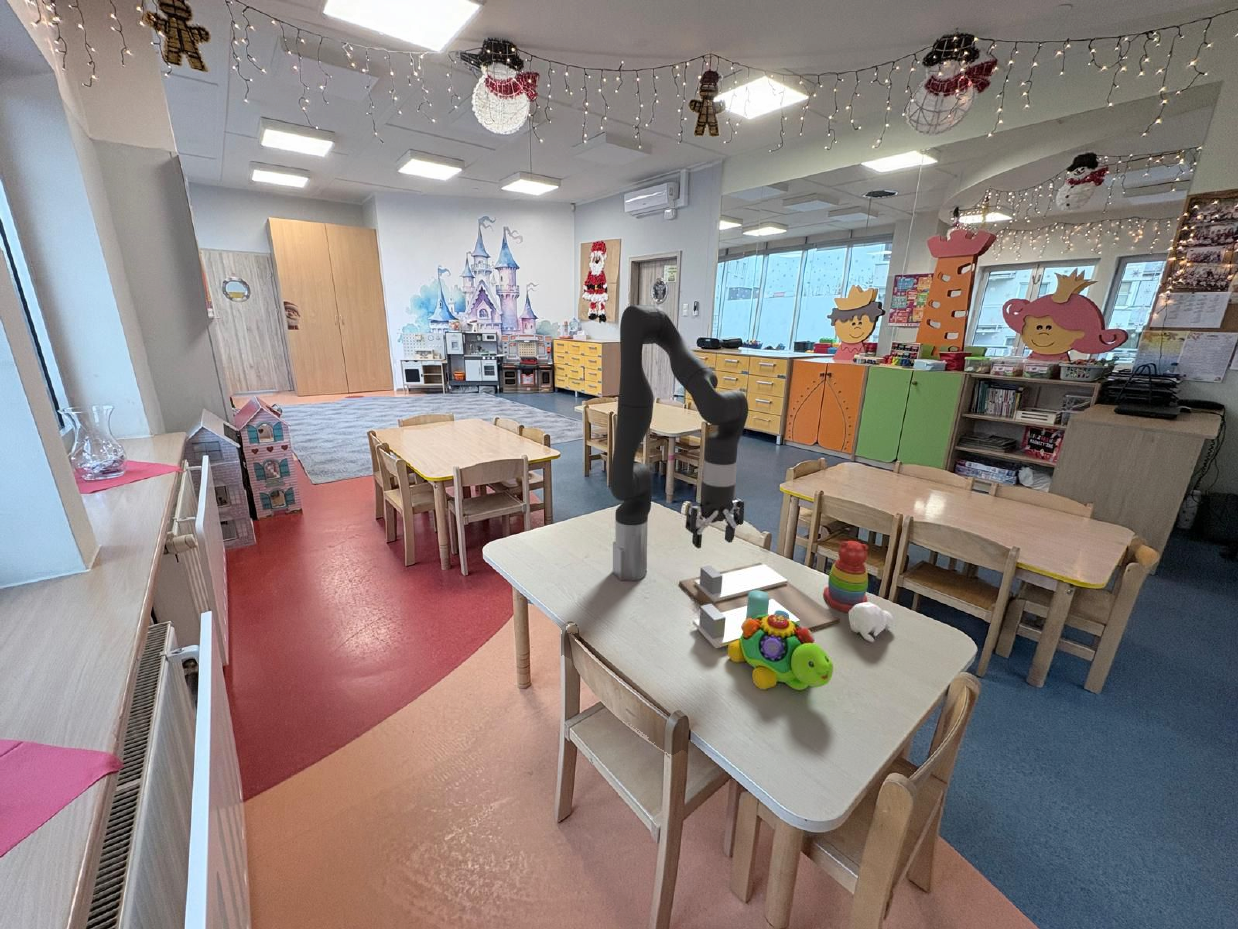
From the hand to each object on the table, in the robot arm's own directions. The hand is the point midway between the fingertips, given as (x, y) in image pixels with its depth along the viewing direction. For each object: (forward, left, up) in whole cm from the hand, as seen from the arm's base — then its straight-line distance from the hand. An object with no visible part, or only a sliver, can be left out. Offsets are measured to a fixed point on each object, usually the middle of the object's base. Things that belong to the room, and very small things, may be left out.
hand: (713, 544), depth 118 cm
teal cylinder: (+10, -6, -19) cm, 23 cm away
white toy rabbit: (+34, -19, -22) cm, 45 cm away
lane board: (+16, +3, -22) cm, 27 cm away
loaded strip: (+7, -6, -20) cm, 22 cm away
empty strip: (+17, +10, -20) cm, 29 cm away
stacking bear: (+38, -7, -22) cm, 44 cm away
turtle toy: (+5, -21, -22) cm, 31 cm away
